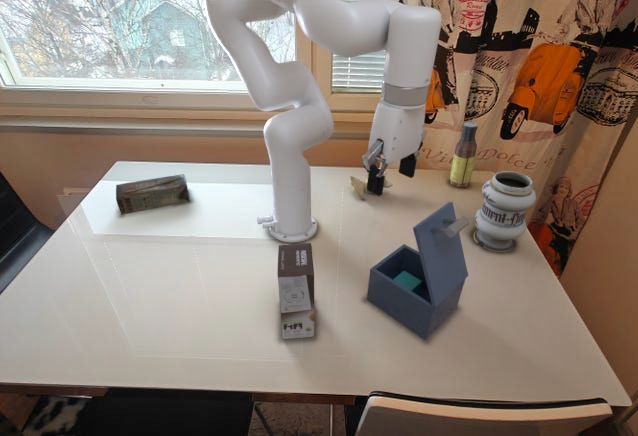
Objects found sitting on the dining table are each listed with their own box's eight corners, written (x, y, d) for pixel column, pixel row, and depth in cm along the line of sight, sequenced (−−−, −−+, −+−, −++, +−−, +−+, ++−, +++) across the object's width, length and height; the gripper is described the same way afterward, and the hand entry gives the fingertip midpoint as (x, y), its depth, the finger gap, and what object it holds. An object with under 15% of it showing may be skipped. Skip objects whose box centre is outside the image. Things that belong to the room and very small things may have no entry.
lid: (412, 227, 65) (440, 229, 60) (448, 201, 71) (476, 201, 67) (432, 306, 69) (460, 313, 65) (464, 275, 75) (491, 279, 71)
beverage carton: (191, 202, 113) (187, 183, 110) (120, 217, 107) (113, 196, 104) (188, 190, 119) (183, 171, 116) (120, 203, 113) (113, 183, 110)
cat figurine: (346, 173, 116) (383, 160, 116) (349, 188, 122) (385, 175, 122) (355, 193, 111) (394, 179, 111) (358, 207, 117) (395, 194, 117)
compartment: (366, 299, 82) (369, 268, 77) (399, 273, 89) (404, 243, 84) (425, 340, 74) (433, 308, 69) (456, 308, 80) (466, 277, 75)
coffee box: (315, 337, 74) (315, 275, 65) (282, 339, 74) (277, 277, 64) (312, 301, 82) (311, 242, 72) (281, 303, 81) (277, 243, 72)
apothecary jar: (459, 237, 100) (475, 176, 90) (486, 221, 106) (504, 162, 96) (501, 261, 92) (524, 197, 82) (528, 243, 98) (552, 181, 88)
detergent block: (406, 307, 79) (409, 292, 77) (388, 296, 82) (391, 280, 79) (419, 296, 82) (422, 281, 79) (401, 285, 85) (404, 270, 82)
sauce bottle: (466, 179, 126) (481, 120, 115) (471, 189, 121) (486, 128, 110) (446, 178, 126) (458, 119, 115) (449, 188, 121) (463, 127, 110)
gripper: (415, 77, 70) (401, 162, 80) (351, 98, 60) (345, 192, 70) (452, 87, 66) (432, 175, 76) (390, 111, 56) (377, 209, 66)
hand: (390, 183), depth 73 cm, fingers open, 9 cm apart
